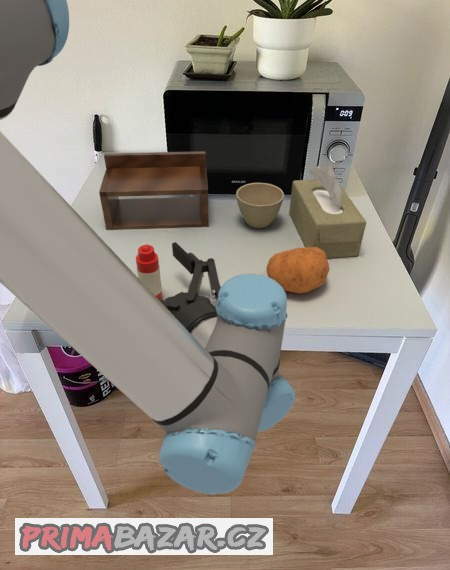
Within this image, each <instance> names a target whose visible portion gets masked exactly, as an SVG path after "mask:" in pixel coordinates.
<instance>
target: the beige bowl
mask: <svg viewBox="0 0 450 570" xmlns="http://www.w3.org/2000/svg"><path fill="white" fill-rule="evenodd" d="M235 193H236V194H235V196H236V202H237V206H238V210H239V212H240V214H241V216H242V218H243V219H244V221H245V223H246V224H247V225H248V226H249V227H251V228H253V229H265V228H267V227H269V226H270V224H271V223H273V221H274V220H275V219H276V217H277V215H278V214H279V212H280V209H281V207H282V204H283V202H284V197H285V193H284V192H283V190H282V189H281V188H280V187H278V186H276V185H274V184H272V183H266V182H251V183H247V184H244V185H242V186H240V187H239V188H237V190H236V192H235Z"/></svg>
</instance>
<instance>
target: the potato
mask: <svg viewBox="0 0 450 570" xmlns="http://www.w3.org/2000/svg"><path fill="white" fill-rule="evenodd" d="M265 268H266V275H267V277H269V278H271V279H273V280H275V281H276V282H277V283H279V284H280V285H281V286H282V288H283V289H284V291H285V292H291V293H295V294H296V293H297V294H304V293H309V292H311V291H313V290H314V289H317V288H320V287H322V286H323V285H325V284H326V281H327V277H328V275H329V272H330V264H329V261H328V258H327V257H326V254H325V252H324V251H323V250H321V249H319V248H317V247H305V246H304V247H296V248H291V249H288V250H283V251H280V252H277V253H275V254H273V255H272V256H271V257H270V258H269V259H268V262H267V264H266V267H265Z"/></svg>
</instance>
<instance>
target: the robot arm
mask: <svg viewBox="0 0 450 570" xmlns="http://www.w3.org/2000/svg"><path fill="white" fill-rule="evenodd" d="M69 33H70V11H69V5H68V0H0V121H1V120H4V119H5V118H8V117H9V116H10V115H11V113H12V112H13V111H14V110H15V107H16V105H17V103H18V100H19V99H20V96H21V95H22V92H23V90H24V88H25V86H26V84H27V81H28V79H29V77H30V75H31V73H32V72H33V71H34V70H35V68H36V67H41V66H46V65H47V64H49V63H52V61H53V60H54V58H56V57H57V56H59V54H60V53H61V52H62V50H63V49H64V47H65V45H66V43H67V41H68V36H69ZM171 248H172V249H171V250H172V257H174V258H175V260H177V261H178V262H179V263H180V265H182V266H183V267H184V269H185V270H187V272H188V273H189V274H190V275H192V276H191V282H190V284H189V286H188V289H187V290H188V291H187V292H184V291H181V292H177V294H175V295H172V296H168V297H166V298H164V299H162V300H161V299H158V298H157V297H156V296H155V295H154V294H153V293H152V292H151V291H150V290H149V289H148V288H147V287H146V286H145V285H144V284H143V283H142V281H141V280H140V279H139V278H138V275H136V273H134V272H133V271H132V270H131V268H130V267H129V266H128V265H127V264H126V263H125V262H124V261H123V260H122V259H121V258H120V256H118V255H117V254H116V253H115V252H114V250H112V248H111V247H110V246H109V245H108V244H107V243H106V242H105V241H104V239H102V238H101V236H99V235H98V233H97V232H96V231H95V230H94V229H93V228H92V227H91V226H90V225H89V224H88V223H87V222H86V220H84V219H83V217H82V216H81V215H80V214H79V213H78V212H77V211H76V209H74V208H73V207H72V206H71V205H70V203H69V202H68V201H66V199H65V198H64V197H63V196H62V195H61V194H60V193H59V192H58V191H57V190H56V189H55V188H54V186H53V185H51V183H50V182H49V181H48V180H47V178H45V177H44V176H43V175H42V174H41V172H39V171H38V169H37V168H36V167H35V166H34V165H33V164H32V163H31V162H30V161H29V160H28V159H27V158H26V156H25V155H23V154H22V152H21V151H20V150H19V149H18V148H17V147H16V146H15V145H14V144H13V143H12V142H11V141H10V140H9V138H7V137H6V135H5V134H3V132H2V131H1V130H0V284H1V285H2V286H3V287H5V289H7V290H8V291H9V292H10V293H11V294H12V295H13V296H15V298H17V300H19V301H20V302H21V303H22V304H24V306H25V307H27V308H28V309H29V310H30V311H31V312H32V313H33V314H34V315H36V316H37V317H38V318H39V319H40V320H41V321H43V323H45V325H47V326H48V327H49V328H50V329H51V330H52V331H54V332H55V333H56V334H57V335H58V336H59V337H60V338H61V339H62V340H63V341H65V343H67V344H68V345H69V346H70V347H71V348H72V349H74V351H75V352H77V353H78V354H79V355H80V356H81V357H83V359H84V360H86V361H87V362H88V363H89V364H90V365H91V366H92V367H94V368H95V369H96V371H98V372H99V373H100V374H101V375H102V376H104V377H105V379H107V380H108V381H109V382H110V383H111V384H113V385H114V386H115V387H116V388H117V389H118V390H119V391H120V392H121V393H123V394H124V395H125V396H126V397H127V398H128V399H129V400H130V401H131V402H132V403H133V404H135V405H136V407H138V408H139V409H140V410H141V411H143V413H144V414H146V416H148V417H149V418H150V419H151V420H153V421H154V422H155V423H156V425H157V426H159V428H161V429H162V430H163V431H164V432H165V435H164V436H163V438H162V439H161V443H162V445H161V448H160V450H159V454H158V459H159V464H160V465H161V466H162V467H163V471H164V472H165V474H166V475H167V476H168V477H169V478H170V479H171V480H172V481H174V482H175V483H177V484H178V485H180V486H182V487H184V488H186V489H188V490H190V491H193V492H196V493H200V494H205V495H214V496H216V495H218V494H221V495H222V494H229V493H231V492H233V491H235V490H236V489H237V488H239V486H240V485H241V484H242V482H243V480H244V477H245V474H246V471H247V469H248V466H249V463H250V460H251V457H252V455H253V452H254V450H255V448H256V439H257V436H258V433H262V432H264V431H267V430H269V429H271V428H272V427H275V426H276V425H277V424H278V423H279V422H281V421H282V420H283V419H285V417H286V416H287V414H288V413H289V412H290V410H291V408H292V407H293V405H294V402H295V399H296V397H295V396H296V394H295V390H294V388H293V387H292V385H291V384H290V383H289V382H288V380H287V378H286V377H285V376H282V374H281V373H280V365H281V351H282V346H283V345H282V344H283V339H284V333H285V326H286V321H287V319H288V313H287V307H288V296H287V293H286V291H285V290H284V289H283V288H282V286H281V285H280V284H279V283H277V282H276V281H275V280H273V279H271V278H269V276H268V275H262V274H256V273H242V274H238V275H235V276H233V277H231V278H229V279H227V280H225V282H224V283H223V284H222V285H221V284H220V279H219V276H218V271H217V267H216V262H215V258H212V257H209V258H207V259H206V260H204V261H203V260H202V259H199V258H198V257H197V256H196V255H195V254H194V253H192V252H187V251H186V250H185V249H184V248H183V247H182V246H181V245H179V243H177V242H176V241H175V242H172V243H171ZM204 273H207V276H208V283H209V288H210V293H209V297H207V296H203V295H200V292H201V287H202V283H203V278H204Z"/></svg>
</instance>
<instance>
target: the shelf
mask: <svg viewBox="0 0 450 570" xmlns="http://www.w3.org/2000/svg"><path fill="white" fill-rule="evenodd" d="M206 155H207V153H206V151H204V150H203V151H161V152H160V151H159V152H158V151H155V152H153V151H152V152H109V153H107V152H106V153H104V154H103V159H104V165H105V171H104V175H103V177H102V180H101V184H100V188H99V191H98V192H99V193H98V195H99V199H100V204H101V205H100V206H101V210H102V215H103V221H104V226H105V230H107V231H108V230H141V229H142V230H143V229H144V230H145V229H146V230H147V229H171V228H172V229H174V228H209V186H208V185H209V184H208V175H207V158H206V157H207V156H206ZM188 195H189V197H188ZM194 195H196V196H194ZM197 195H199V196H197ZM152 196H153V197H152ZM156 196H182V197H156ZM183 196H184V197H183ZM186 196H187V197H186ZM119 197H121V198H119ZM122 197H147V198H122ZM150 197H151V198H150Z"/></svg>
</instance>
